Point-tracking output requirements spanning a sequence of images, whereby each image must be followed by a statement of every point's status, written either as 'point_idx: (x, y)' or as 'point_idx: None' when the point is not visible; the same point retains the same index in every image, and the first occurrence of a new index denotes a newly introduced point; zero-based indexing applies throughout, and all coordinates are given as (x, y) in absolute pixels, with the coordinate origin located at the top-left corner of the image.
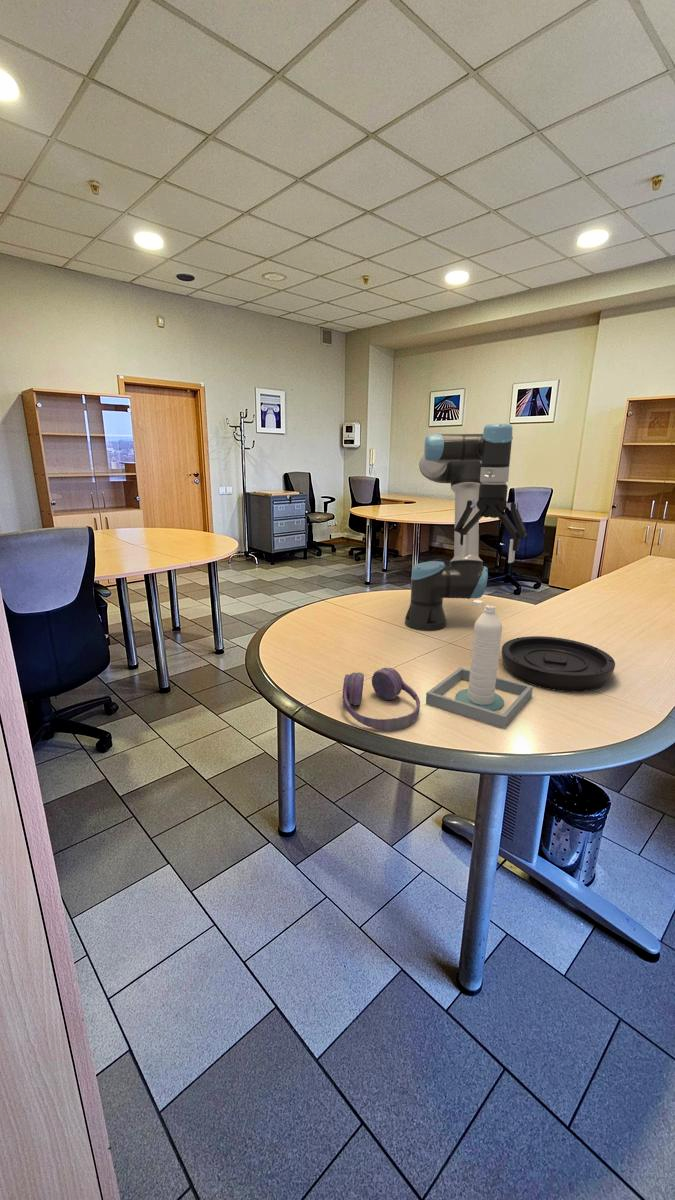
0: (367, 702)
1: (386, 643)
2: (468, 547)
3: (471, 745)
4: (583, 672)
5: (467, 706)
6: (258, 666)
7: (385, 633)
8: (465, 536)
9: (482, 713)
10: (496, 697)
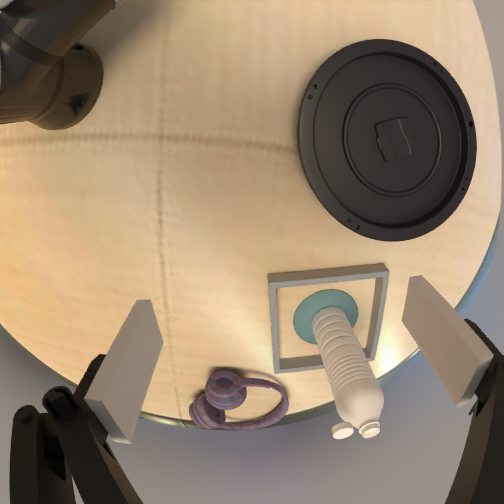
0: None
1: (83, 232)
2: (136, 337)
3: None
4: (449, 204)
5: None
6: (75, 386)
7: (49, 192)
8: (129, 435)
9: None
10: (344, 301)
